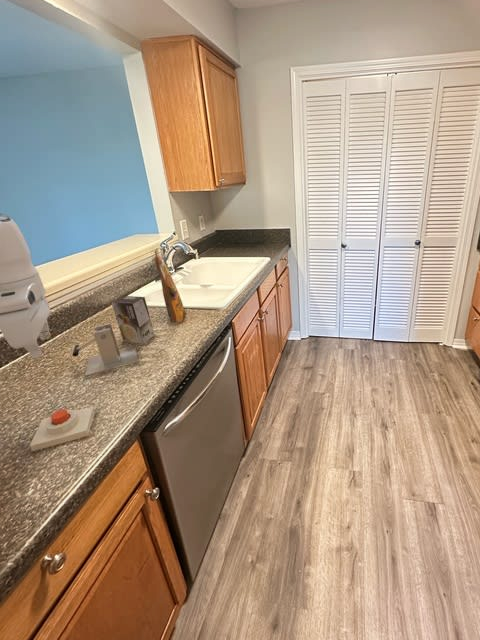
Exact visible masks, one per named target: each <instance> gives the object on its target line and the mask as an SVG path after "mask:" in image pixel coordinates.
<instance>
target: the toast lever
mask: <svg viewBox="0 0 480 640" xmlns="http://www.w3.org/2000/svg"><path fill="white" fill-rule="evenodd" d="M104 329H107V328H106V327H104V328H102V329H100V330H104ZM94 342H96V340H95V337H94V336H93V337H91V338H89V340H87V341H86V342H84V343H82V344H80V345H79V344H75V345H74V347H73V351H72V357H75V358H76V357H78V356H79V353H80V351H83V350H84V349H85V348H87V347H89V346H90V345H92V344H93V343H94Z"/></svg>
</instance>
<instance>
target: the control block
mask: <svg viewBox="0 0 480 640" xmlns="http://www.w3.org/2000/svg"><path fill="white" fill-rule="evenodd" d="M66 410H67V412H68V414H69V419H68V420H67V421H65V422H63V423H62V424H58V425H55V424H53V422H52V419H51V416H50V417H46V418H42V419H41V421H40V423H39V425H38V427H37V429H36V431H35V433H34V435H33V437H32V440H31V442H30V444H29V448H30V450H31V452H35V451H39V450H42V449H45V448H50V447H53V446H56V445H60V444H64V443H68V442H71V441H74V440H79V439H82V438H85V437H89V435H90V431H91V428H92V424H93V421H94V417H95V413H96V409H95V407H94V406H89V407H86V408H82V409H78V410H77V409H76V410H74V409H66Z"/></svg>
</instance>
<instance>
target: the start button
mask: <svg viewBox="0 0 480 640" xmlns="http://www.w3.org/2000/svg"><path fill="white" fill-rule="evenodd" d="M67 410H68V409H59V410H57V411H55V412H54V413H52V414H51V415H50V417H51V419H52V422H53V424H55V425H58V424H62V423H63V422H65V421H67V420H68V419H69V414H68V412H67Z"/></svg>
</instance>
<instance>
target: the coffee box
mask: <svg viewBox="0 0 480 640" xmlns="http://www.w3.org/2000/svg"><path fill="white" fill-rule="evenodd" d="M111 306H112V309H113V312H114V315H115V316H114V317H115V319H116V322H117V325H118V329H119V331H120V335H121V338H122V341H123V342H128V343H136V344H137V343H138V344H145V343H147V342H148V341H149V340H151V339H152V338H154V336H155V331H154V327H153V324H152V320H151V316H150V312H149V309H148V305H147V301H146V297H145V296H135V295H134V296H133V295H132V296H131V295H122V296H120V297H118V298H117V299H115V300H114V301H111Z"/></svg>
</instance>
